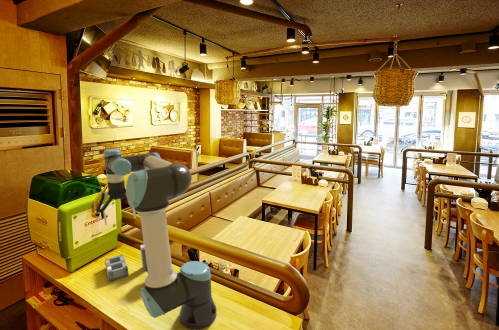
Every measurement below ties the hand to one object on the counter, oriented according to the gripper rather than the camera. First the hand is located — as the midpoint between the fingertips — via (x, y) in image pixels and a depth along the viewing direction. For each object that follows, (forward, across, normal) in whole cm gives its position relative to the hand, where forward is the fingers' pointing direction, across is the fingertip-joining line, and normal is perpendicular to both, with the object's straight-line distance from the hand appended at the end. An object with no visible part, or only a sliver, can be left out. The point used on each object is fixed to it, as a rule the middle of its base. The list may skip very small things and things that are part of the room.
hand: (120, 220), depth 144 cm
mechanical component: (+28, -12, +17) cm, 35 cm away
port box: (+28, +5, 0) cm, 28 cm away
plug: (+28, -9, +4) cm, 30 cm away
